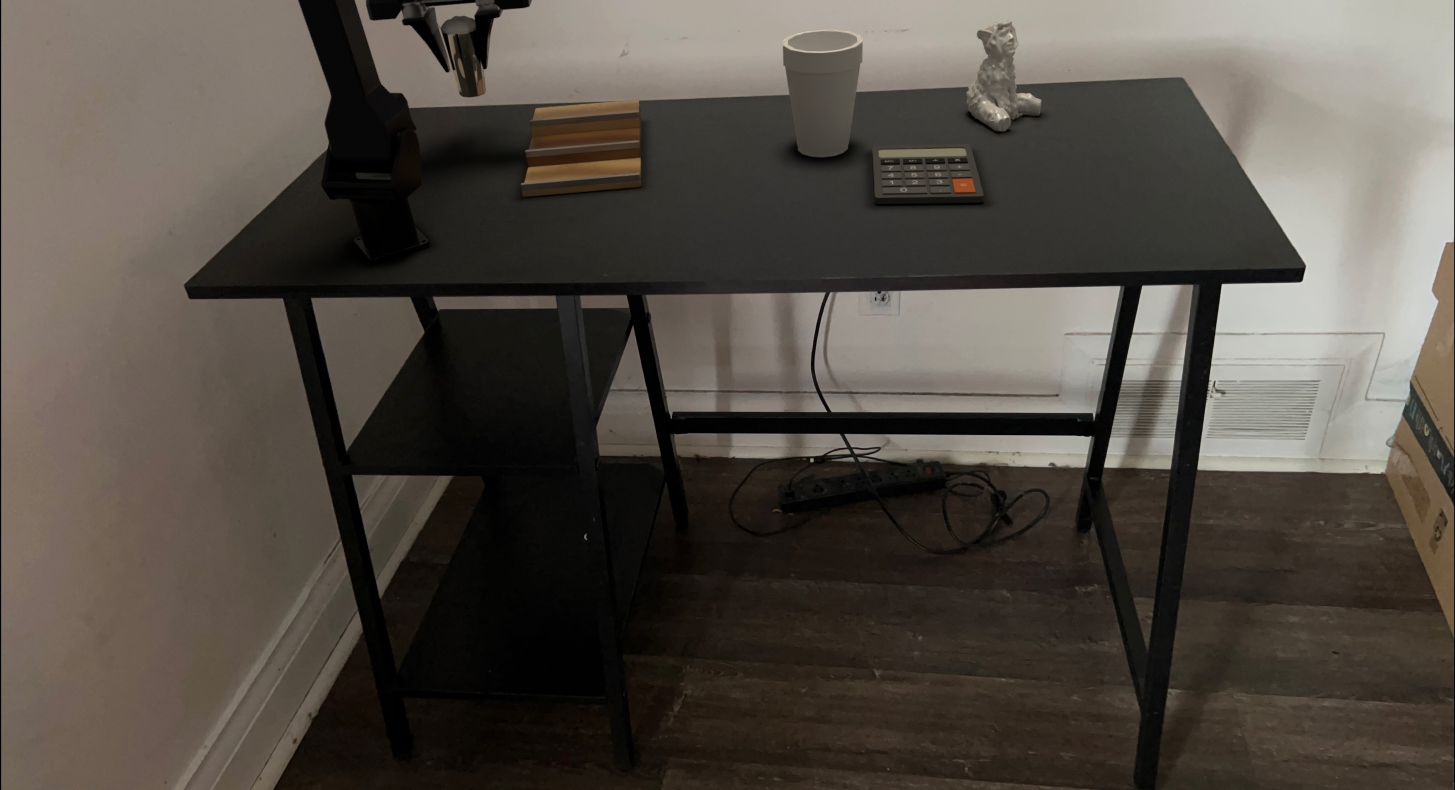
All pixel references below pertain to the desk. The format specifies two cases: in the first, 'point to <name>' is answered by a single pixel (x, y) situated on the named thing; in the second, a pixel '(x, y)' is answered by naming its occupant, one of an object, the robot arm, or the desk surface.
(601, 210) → the desk surface
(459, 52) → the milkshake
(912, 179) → the calculator
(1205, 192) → the desk surface
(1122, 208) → the desk surface
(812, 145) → the foam cup
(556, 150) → the rack
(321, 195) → the desk surface
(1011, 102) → the seated beast figurine
